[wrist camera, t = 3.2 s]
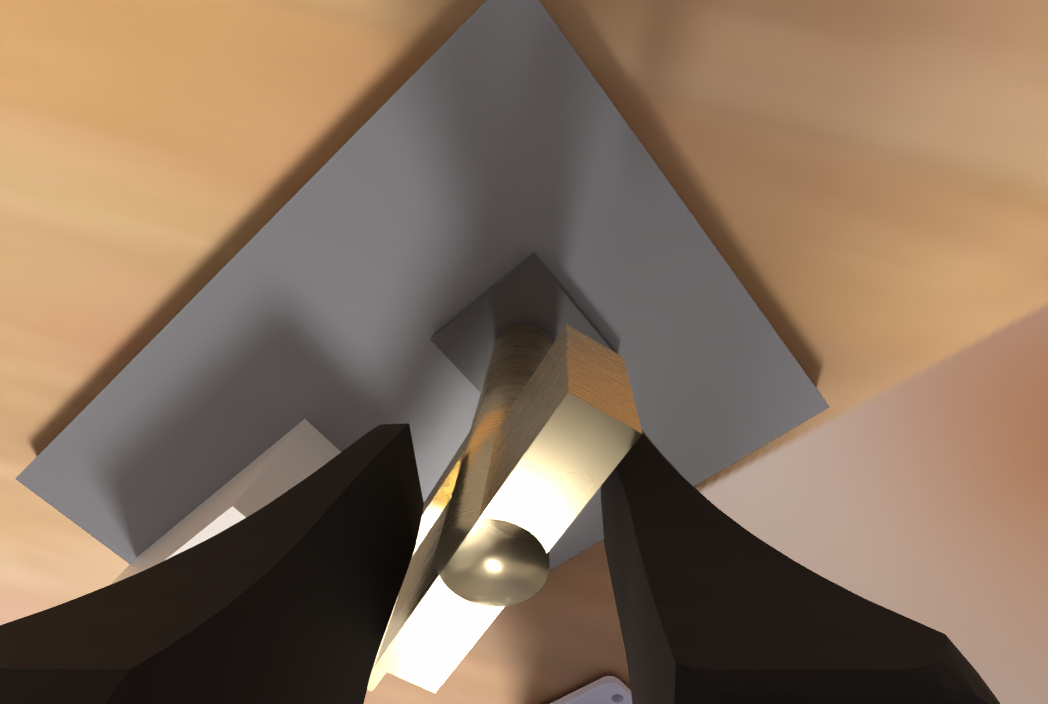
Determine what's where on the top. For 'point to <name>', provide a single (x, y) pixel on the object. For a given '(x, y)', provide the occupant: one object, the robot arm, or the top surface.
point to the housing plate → (439, 298)
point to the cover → (243, 494)
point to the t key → (508, 495)
